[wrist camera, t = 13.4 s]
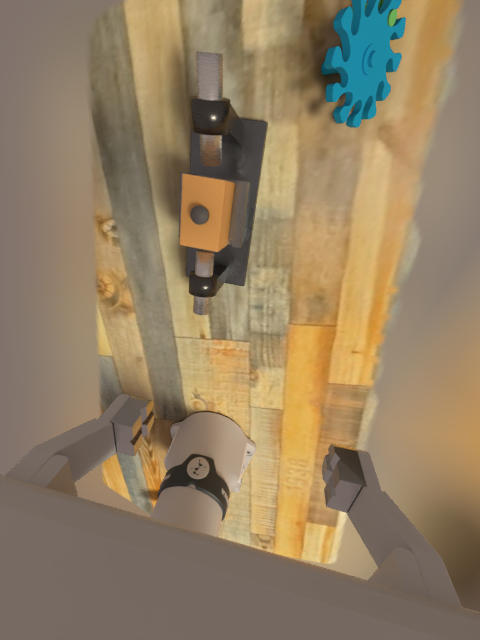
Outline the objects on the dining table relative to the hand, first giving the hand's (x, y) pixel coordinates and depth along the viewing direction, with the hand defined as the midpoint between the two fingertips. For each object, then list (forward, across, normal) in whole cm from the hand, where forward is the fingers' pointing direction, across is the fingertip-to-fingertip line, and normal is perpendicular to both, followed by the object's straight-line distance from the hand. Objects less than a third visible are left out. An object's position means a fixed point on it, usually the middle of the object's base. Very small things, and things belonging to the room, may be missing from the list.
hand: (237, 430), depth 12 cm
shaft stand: (+29, +8, -7) cm, 31 cm away
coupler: (+25, +8, -7) cm, 27 cm away
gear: (+29, -5, -22) cm, 37 cm away
